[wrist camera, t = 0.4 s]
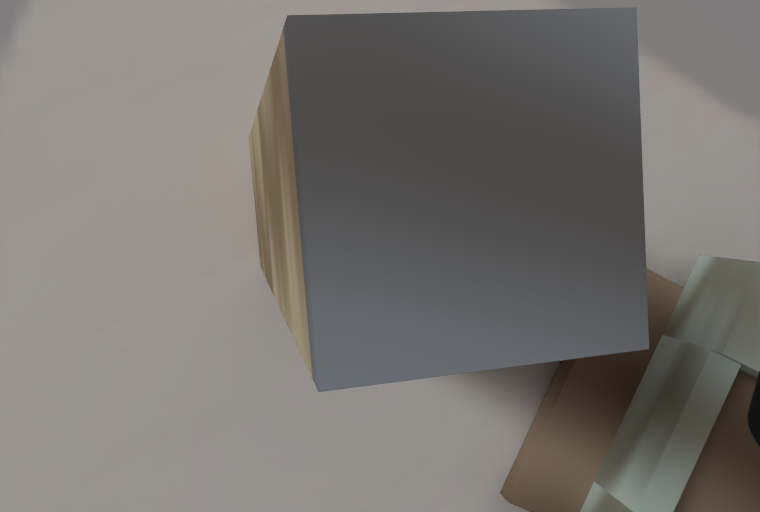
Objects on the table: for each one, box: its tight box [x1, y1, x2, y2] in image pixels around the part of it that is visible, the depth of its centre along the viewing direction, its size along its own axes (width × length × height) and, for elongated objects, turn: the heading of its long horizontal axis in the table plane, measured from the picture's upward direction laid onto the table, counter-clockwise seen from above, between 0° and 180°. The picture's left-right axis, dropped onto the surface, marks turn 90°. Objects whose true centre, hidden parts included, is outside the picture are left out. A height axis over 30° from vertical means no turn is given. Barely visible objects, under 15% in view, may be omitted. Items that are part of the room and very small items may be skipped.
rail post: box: [249, 8, 649, 392], centre depth 15 cm, size 4×4×15 cm
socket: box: [500, 255, 760, 512], centre depth 24 cm, size 12×14×4 cm
